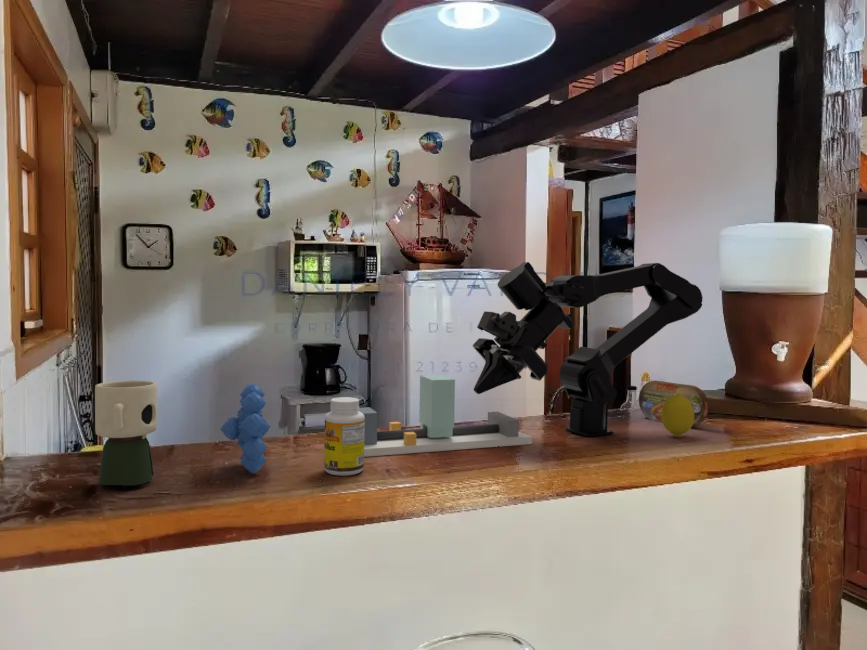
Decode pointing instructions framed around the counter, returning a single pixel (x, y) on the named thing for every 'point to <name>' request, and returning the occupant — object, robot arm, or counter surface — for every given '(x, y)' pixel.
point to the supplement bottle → (344, 437)
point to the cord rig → (464, 437)
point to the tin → (660, 391)
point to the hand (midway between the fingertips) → (475, 392)
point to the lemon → (677, 415)
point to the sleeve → (437, 405)
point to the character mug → (126, 430)
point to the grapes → (249, 428)
